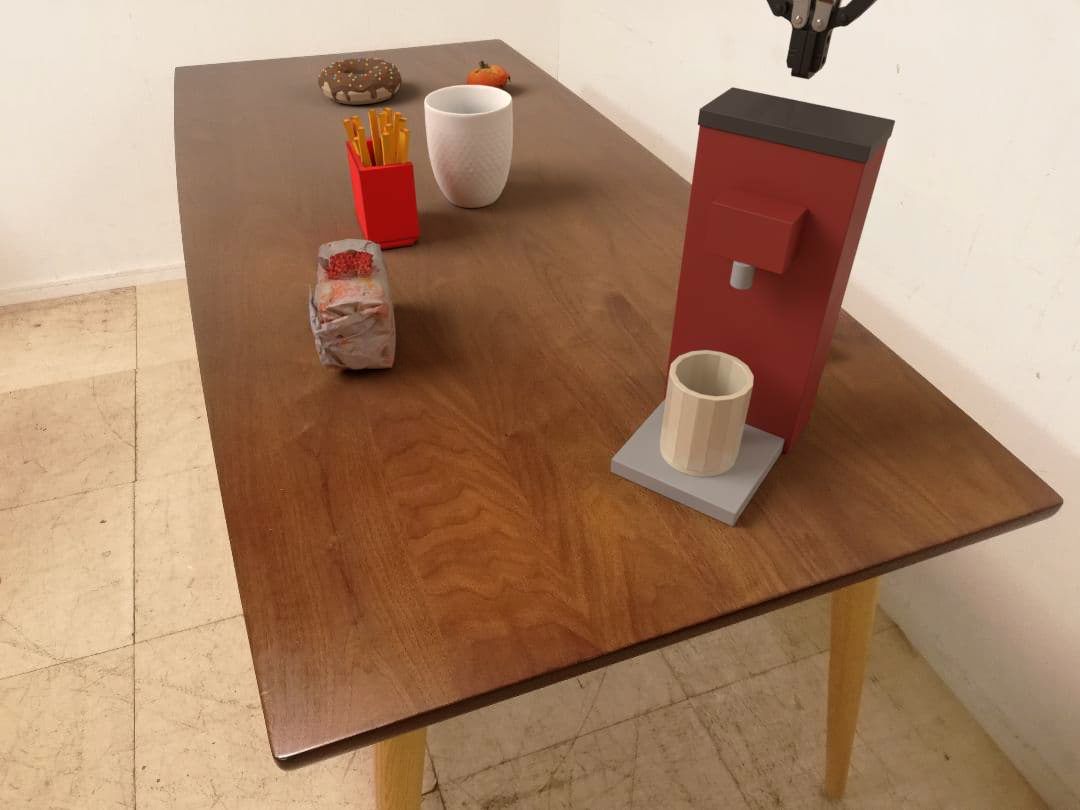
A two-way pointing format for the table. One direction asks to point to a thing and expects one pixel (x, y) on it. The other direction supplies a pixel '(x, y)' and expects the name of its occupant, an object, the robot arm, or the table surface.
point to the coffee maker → (763, 274)
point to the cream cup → (705, 412)
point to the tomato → (488, 76)
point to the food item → (353, 307)
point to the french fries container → (383, 179)
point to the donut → (360, 81)
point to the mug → (470, 142)
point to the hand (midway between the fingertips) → (802, 75)
